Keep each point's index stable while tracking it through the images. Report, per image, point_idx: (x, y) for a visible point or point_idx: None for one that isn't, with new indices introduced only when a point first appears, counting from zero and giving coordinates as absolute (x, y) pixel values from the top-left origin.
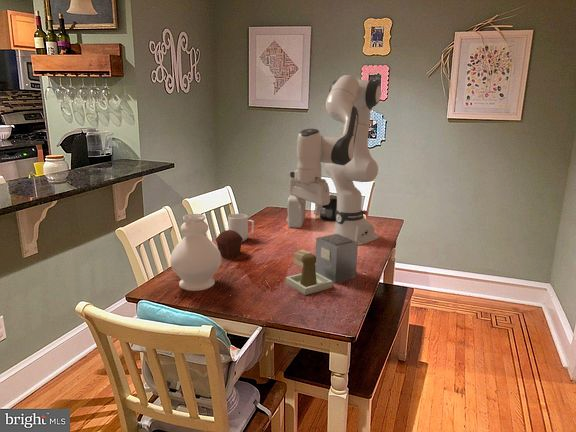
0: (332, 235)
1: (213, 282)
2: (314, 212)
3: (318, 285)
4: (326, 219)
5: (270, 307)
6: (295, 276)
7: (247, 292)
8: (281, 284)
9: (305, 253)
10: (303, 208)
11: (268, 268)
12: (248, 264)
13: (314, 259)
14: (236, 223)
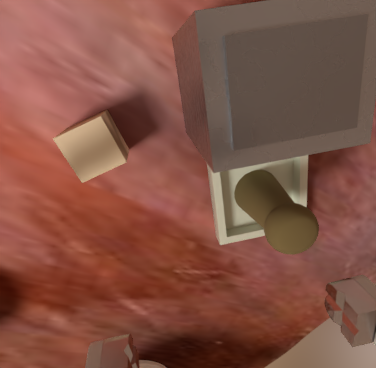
0: (233, 75)
1: (153, 366)
2: (344, 325)
3: (306, 188)
4: None
5: (304, 294)
6: (224, 219)
7: (222, 315)
8: (217, 246)
9: (104, 143)
10: (131, 342)
11: (100, 244)
12: (51, 283)
13: (317, 222)
14: None
